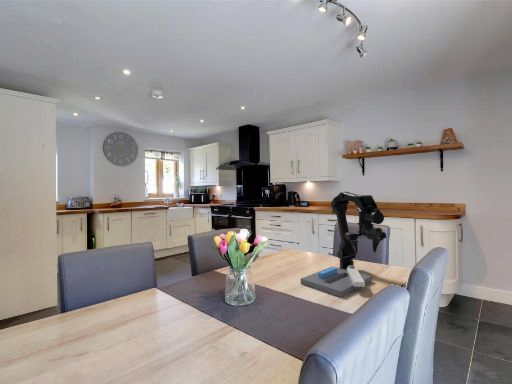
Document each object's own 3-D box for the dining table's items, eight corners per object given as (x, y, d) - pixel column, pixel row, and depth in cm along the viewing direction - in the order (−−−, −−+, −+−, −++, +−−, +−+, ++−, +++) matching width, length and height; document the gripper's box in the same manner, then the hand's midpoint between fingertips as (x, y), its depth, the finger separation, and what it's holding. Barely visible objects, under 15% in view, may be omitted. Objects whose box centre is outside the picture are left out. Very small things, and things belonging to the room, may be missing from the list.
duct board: (300, 283, 130) (300, 278, 130) (332, 271, 147) (332, 266, 147) (341, 297, 113) (341, 291, 113) (371, 281, 130) (371, 276, 130)
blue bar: (318, 277, 131) (318, 272, 131) (333, 271, 138) (333, 267, 138) (322, 278, 129) (322, 273, 129) (337, 272, 137) (337, 268, 136)
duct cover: (346, 270, 139) (346, 265, 139) (355, 270, 138) (355, 265, 138) (354, 286, 117) (354, 280, 117) (365, 286, 117) (364, 280, 116)
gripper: (354, 224, 123) (355, 258, 123) (393, 222, 125) (393, 256, 125) (343, 221, 134) (344, 252, 134) (379, 219, 136) (379, 250, 136)
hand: (365, 252), depth 132 cm, fingers open, 9 cm apart
